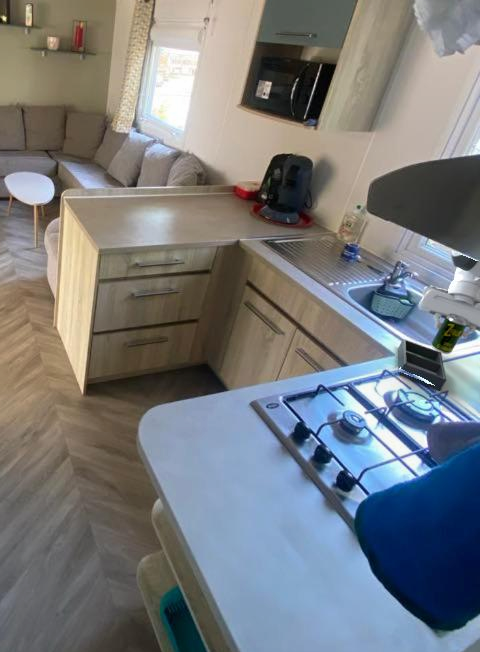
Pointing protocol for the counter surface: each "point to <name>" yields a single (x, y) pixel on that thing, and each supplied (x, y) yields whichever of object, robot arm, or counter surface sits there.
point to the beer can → (449, 333)
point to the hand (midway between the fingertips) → (450, 333)
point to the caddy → (421, 364)
